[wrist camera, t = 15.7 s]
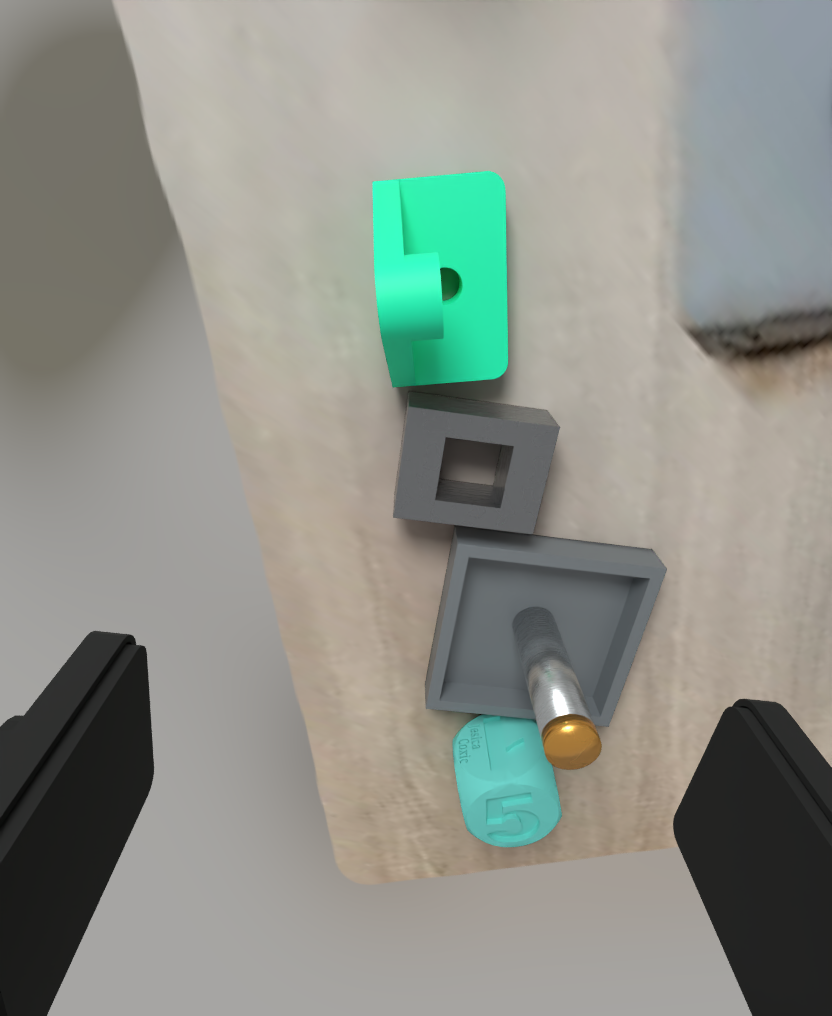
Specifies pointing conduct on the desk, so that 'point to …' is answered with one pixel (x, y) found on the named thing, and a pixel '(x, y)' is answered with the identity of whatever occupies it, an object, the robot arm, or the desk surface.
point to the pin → (555, 691)
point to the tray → (537, 583)
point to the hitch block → (471, 504)
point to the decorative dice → (505, 781)
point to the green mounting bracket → (417, 281)
